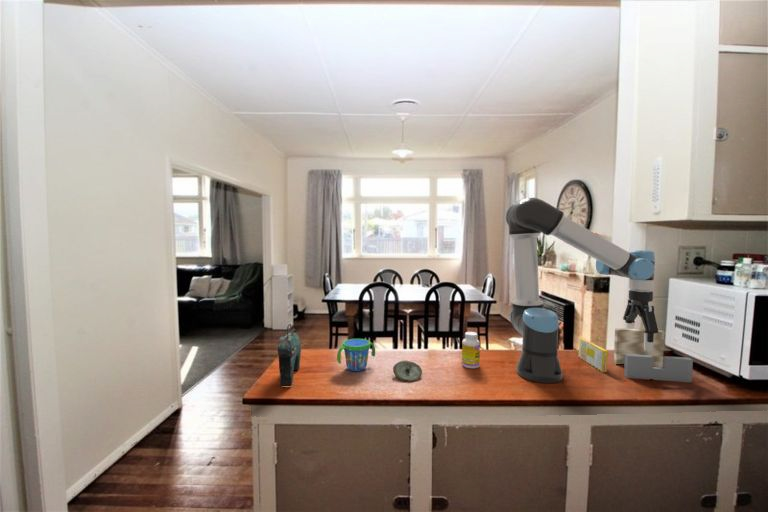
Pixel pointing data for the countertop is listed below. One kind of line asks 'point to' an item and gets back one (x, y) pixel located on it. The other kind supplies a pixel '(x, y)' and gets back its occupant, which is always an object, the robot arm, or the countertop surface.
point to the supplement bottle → (470, 350)
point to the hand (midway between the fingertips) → (638, 344)
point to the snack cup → (356, 353)
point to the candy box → (593, 354)
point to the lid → (407, 371)
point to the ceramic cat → (288, 356)
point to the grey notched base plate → (658, 368)
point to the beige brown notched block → (637, 345)
